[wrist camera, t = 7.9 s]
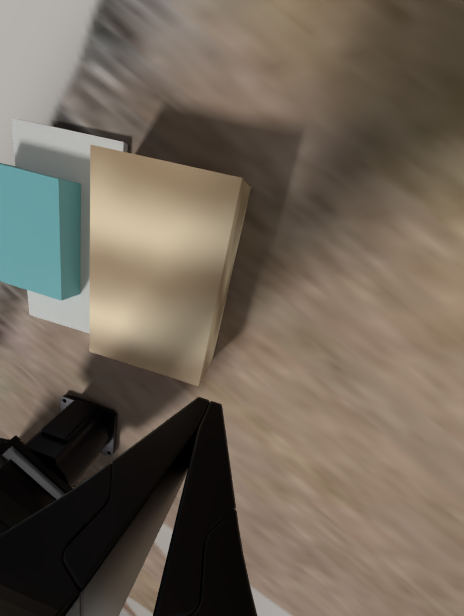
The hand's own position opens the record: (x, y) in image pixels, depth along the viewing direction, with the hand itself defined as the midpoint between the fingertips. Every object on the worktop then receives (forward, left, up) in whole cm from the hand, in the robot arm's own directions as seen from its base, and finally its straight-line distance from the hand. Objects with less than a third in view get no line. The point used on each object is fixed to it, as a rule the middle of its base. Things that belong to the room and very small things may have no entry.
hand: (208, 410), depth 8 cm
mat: (+1, +16, -12) cm, 20 cm away
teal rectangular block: (+1, +18, -10) cm, 20 cm away
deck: (+1, +7, -12) cm, 14 cm away
